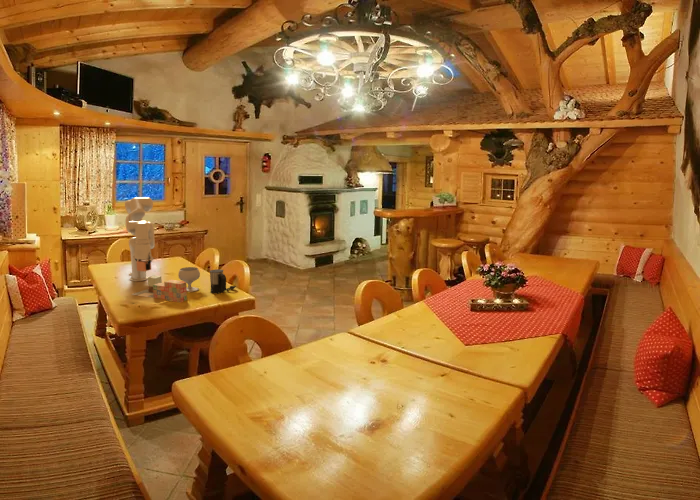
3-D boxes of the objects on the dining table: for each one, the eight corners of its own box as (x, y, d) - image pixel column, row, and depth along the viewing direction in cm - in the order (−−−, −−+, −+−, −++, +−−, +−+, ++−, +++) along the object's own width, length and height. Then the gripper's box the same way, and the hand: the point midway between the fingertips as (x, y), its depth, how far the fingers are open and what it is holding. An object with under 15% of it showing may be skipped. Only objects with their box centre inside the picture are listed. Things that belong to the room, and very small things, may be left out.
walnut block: (148, 292, 329) (148, 286, 329) (154, 289, 335) (154, 284, 334) (155, 293, 327) (155, 287, 327) (162, 290, 333) (161, 285, 332)
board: (130, 295, 323) (130, 294, 322) (149, 289, 338) (148, 288, 338) (152, 298, 317) (152, 297, 316) (170, 292, 332) (170, 291, 332)
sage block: (148, 286, 329) (147, 277, 328) (154, 284, 334) (154, 275, 333) (155, 287, 327) (154, 278, 326) (161, 285, 332) (161, 276, 331)
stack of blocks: (153, 298, 317) (152, 280, 315) (160, 296, 323) (159, 278, 321) (180, 302, 310) (179, 283, 308) (187, 300, 316) (186, 281, 314)
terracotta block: (137, 270, 319) (136, 261, 318) (143, 268, 324) (143, 259, 323) (144, 271, 317) (143, 262, 316) (151, 269, 322) (150, 260, 321)
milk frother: (207, 292, 333) (206, 271, 331) (222, 287, 348) (221, 266, 345) (224, 295, 328) (223, 273, 325) (239, 289, 342) (238, 268, 339)
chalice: (189, 286, 348) (188, 265, 345) (204, 289, 341) (204, 268, 339) (174, 291, 335) (173, 269, 332) (190, 294, 329) (189, 272, 326)
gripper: (127, 241, 317) (129, 269, 320) (148, 243, 311) (150, 271, 314) (136, 240, 323) (137, 266, 327) (157, 241, 318) (158, 269, 321)
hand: (144, 268), depth 320 cm, fingers closed on terracotta block, 6 cm apart
